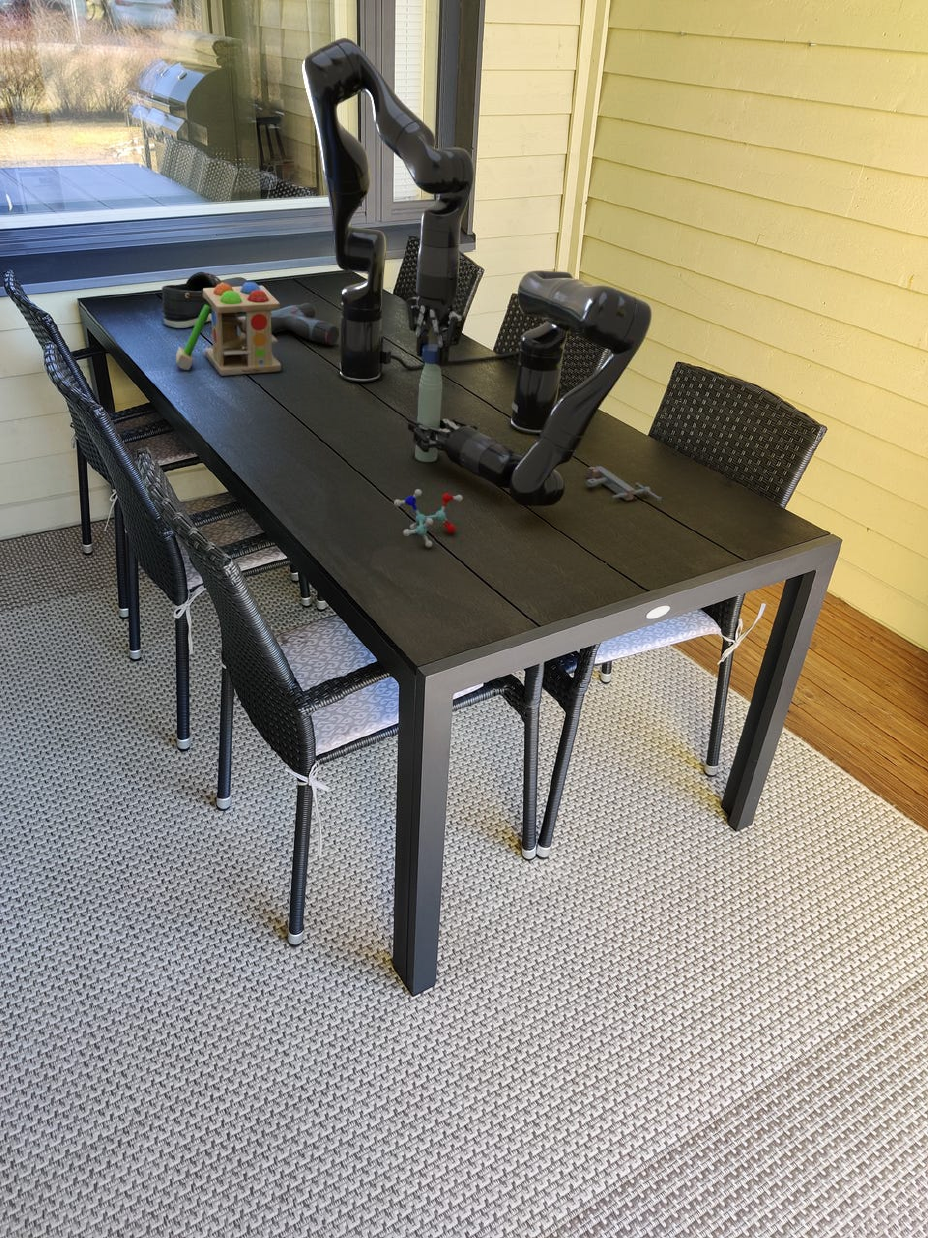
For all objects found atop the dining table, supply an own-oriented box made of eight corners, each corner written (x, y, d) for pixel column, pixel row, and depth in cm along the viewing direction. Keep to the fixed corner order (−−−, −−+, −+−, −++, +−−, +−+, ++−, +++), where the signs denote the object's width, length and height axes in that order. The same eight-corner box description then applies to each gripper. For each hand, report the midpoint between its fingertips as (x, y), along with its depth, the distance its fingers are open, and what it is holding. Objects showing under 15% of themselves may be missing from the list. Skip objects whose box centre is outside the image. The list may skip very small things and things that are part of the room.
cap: (419, 362, 185) (420, 349, 184) (424, 355, 189) (425, 342, 187) (440, 365, 185) (441, 352, 183) (445, 358, 188) (446, 345, 187)
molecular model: (452, 541, 163) (433, 483, 162) (403, 556, 167) (383, 500, 165) (474, 530, 174) (456, 475, 172) (427, 544, 177) (409, 492, 176)
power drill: (365, 313, 253) (305, 296, 261) (318, 330, 240) (256, 311, 248) (364, 334, 256) (305, 316, 264) (318, 351, 243) (257, 332, 251)
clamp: (576, 469, 194) (616, 461, 198) (574, 479, 195) (614, 471, 199) (622, 503, 183) (664, 494, 188) (620, 513, 184) (661, 504, 189)
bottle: (411, 458, 197) (417, 352, 185) (420, 450, 200) (427, 346, 188) (431, 464, 196) (438, 357, 183) (440, 455, 199) (448, 351, 187)
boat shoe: (271, 306, 270) (269, 267, 265) (181, 330, 246) (177, 288, 241) (236, 297, 276) (233, 259, 271) (146, 320, 252) (141, 279, 247)
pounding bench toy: (183, 379, 220) (176, 299, 210) (169, 357, 231) (162, 280, 221) (282, 371, 230) (280, 294, 220) (264, 350, 240) (262, 276, 230)
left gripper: (396, 261, 179) (392, 352, 188) (449, 282, 171) (442, 376, 180) (427, 256, 183) (422, 345, 193) (480, 276, 175) (471, 368, 185)
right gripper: (505, 426, 188) (447, 396, 198) (448, 442, 179) (391, 410, 189) (501, 462, 192) (445, 430, 202) (446, 479, 184) (390, 446, 194)
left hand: (431, 360), depth 186 cm, fingers open, 5 cm apart
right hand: (419, 421), depth 196 cm, fingers closed on bottle, 4 cm apart
